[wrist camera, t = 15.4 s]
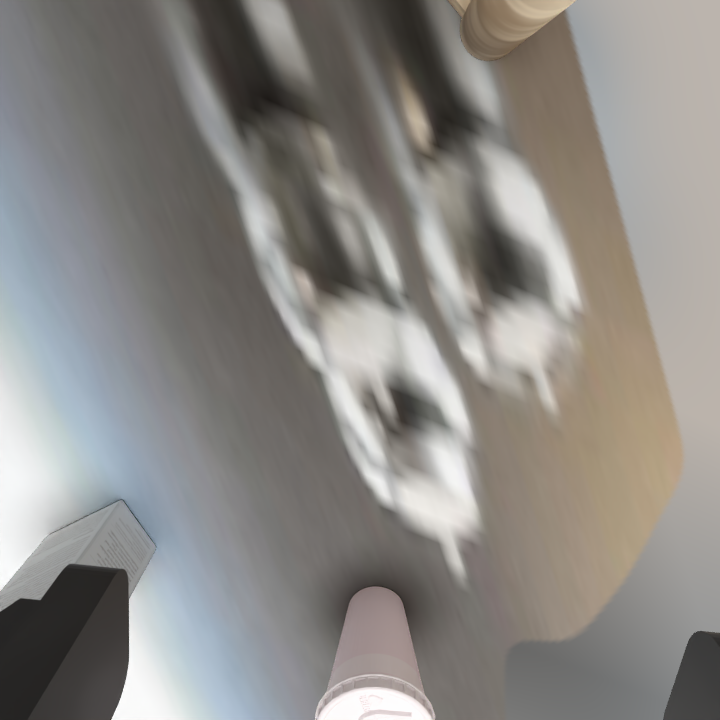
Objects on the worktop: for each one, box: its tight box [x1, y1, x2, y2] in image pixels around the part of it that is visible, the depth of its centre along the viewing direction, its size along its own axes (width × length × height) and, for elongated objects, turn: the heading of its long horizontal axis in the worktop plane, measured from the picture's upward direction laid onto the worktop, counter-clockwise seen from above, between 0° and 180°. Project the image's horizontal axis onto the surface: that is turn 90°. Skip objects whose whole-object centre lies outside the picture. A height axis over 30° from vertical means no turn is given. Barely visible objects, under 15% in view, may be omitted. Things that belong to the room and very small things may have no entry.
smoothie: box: [315, 586, 435, 720], centre depth 36 cm, size 6×6×14 cm
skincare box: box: [0, 500, 156, 611], centre depth 36 cm, size 6×4×12 cm
